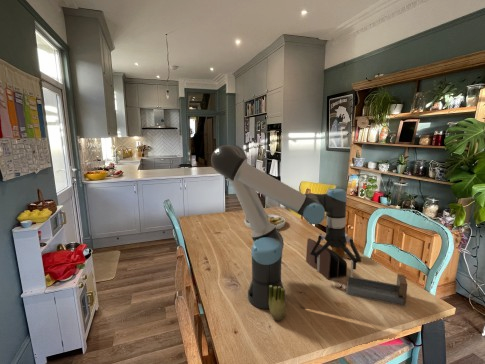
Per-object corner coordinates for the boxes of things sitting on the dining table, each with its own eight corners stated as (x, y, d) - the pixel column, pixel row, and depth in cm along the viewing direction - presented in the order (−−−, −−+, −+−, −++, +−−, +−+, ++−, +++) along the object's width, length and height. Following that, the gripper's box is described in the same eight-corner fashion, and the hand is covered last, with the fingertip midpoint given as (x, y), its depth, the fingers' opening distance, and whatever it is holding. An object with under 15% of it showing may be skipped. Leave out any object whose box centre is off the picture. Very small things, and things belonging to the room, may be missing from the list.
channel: (406, 307, 97) (408, 286, 96) (346, 295, 105) (347, 275, 104) (401, 293, 106) (403, 273, 105) (346, 282, 114) (348, 264, 113)
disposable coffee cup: (350, 254, 142) (351, 233, 140) (343, 260, 135) (344, 238, 133) (333, 249, 149) (334, 229, 147) (325, 255, 142) (326, 234, 140)
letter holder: (327, 281, 116) (329, 252, 113) (305, 261, 135) (306, 236, 132) (346, 278, 118) (348, 249, 116) (322, 259, 137) (323, 233, 135)
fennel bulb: (266, 315, 94) (267, 285, 92) (276, 310, 97) (277, 280, 95) (277, 324, 89) (278, 292, 87) (288, 318, 92) (288, 287, 90)
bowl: (263, 217, 212) (263, 208, 211) (293, 226, 190) (293, 215, 189) (236, 226, 192) (236, 215, 191) (266, 236, 170) (266, 225, 169)
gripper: (368, 226, 106) (366, 273, 109) (307, 220, 116) (306, 264, 119) (369, 232, 99) (366, 283, 103) (303, 225, 109) (303, 272, 113)
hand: (334, 273), depth 111 cm, fingers open, 13 cm apart
